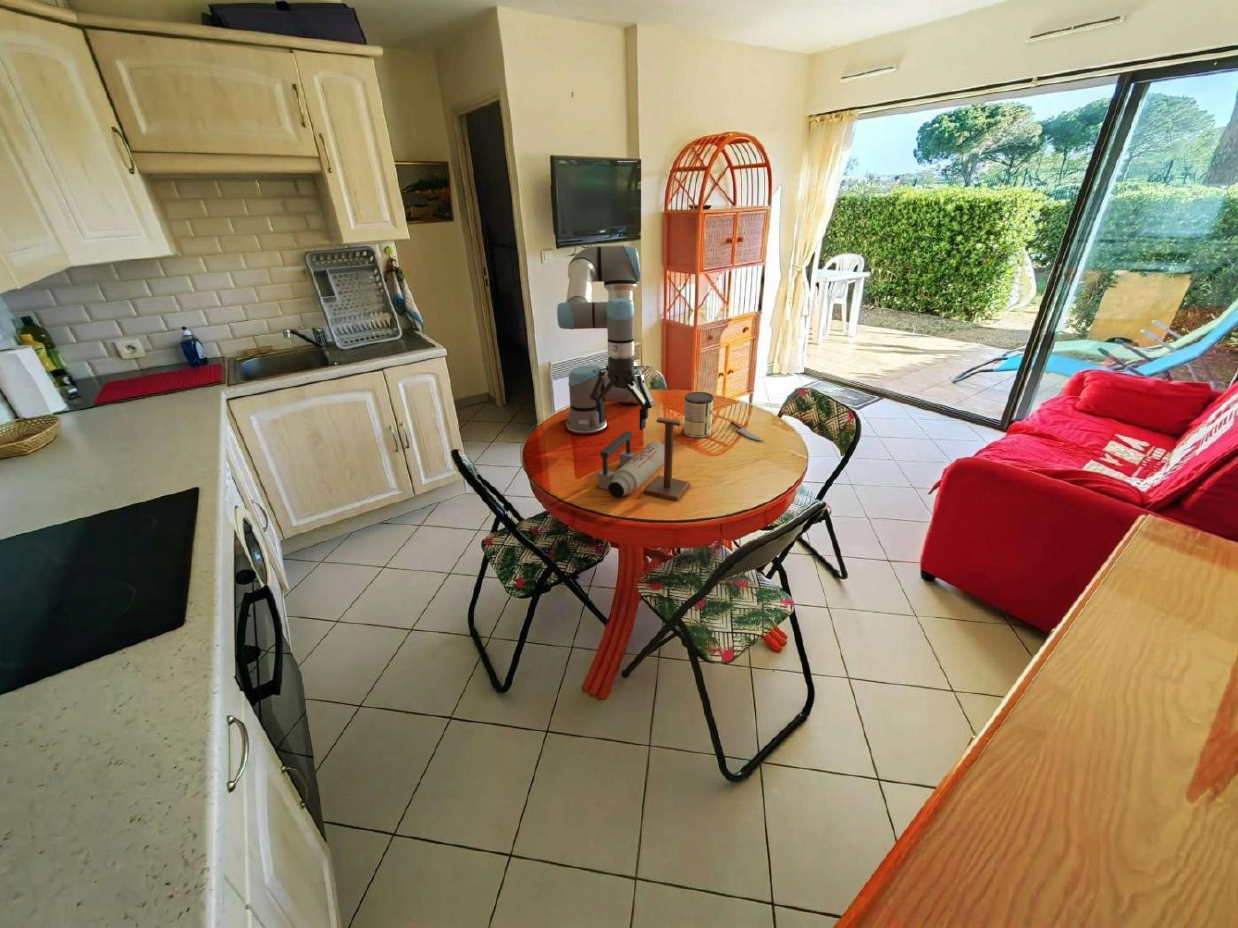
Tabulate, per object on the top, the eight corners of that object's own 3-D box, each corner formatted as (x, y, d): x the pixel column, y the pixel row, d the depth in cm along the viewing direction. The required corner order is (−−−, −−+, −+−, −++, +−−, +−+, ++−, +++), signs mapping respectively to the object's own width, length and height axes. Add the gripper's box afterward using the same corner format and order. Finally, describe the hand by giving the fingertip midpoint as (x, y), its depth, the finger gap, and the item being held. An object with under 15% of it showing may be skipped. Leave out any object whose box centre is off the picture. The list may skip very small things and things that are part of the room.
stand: (645, 493, 149) (645, 423, 140) (658, 478, 157) (659, 412, 148) (677, 500, 145) (680, 429, 136) (689, 485, 153) (692, 417, 144)
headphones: (598, 487, 153) (597, 451, 148) (623, 464, 167) (622, 430, 162) (611, 490, 151) (610, 454, 146) (635, 466, 165) (635, 432, 160)
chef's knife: (756, 443, 180) (763, 441, 181) (757, 441, 179) (764, 439, 180) (725, 425, 195) (732, 423, 196) (725, 422, 195) (732, 420, 196)
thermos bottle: (649, 437, 164) (605, 473, 142) (671, 447, 162) (630, 485, 140) (643, 457, 168) (600, 495, 147) (665, 467, 166) (624, 507, 144)
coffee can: (683, 426, 195) (684, 391, 189) (710, 427, 194) (712, 391, 188) (683, 437, 186) (685, 400, 179) (712, 438, 185) (714, 401, 178)
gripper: (576, 354, 147) (580, 423, 157) (656, 363, 137) (655, 436, 146) (589, 349, 153) (592, 415, 163) (666, 357, 143) (664, 427, 152)
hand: (622, 425), depth 154 cm, fingers open, 13 cm apart
